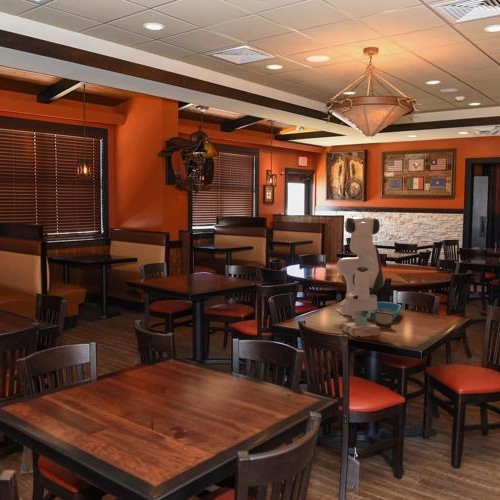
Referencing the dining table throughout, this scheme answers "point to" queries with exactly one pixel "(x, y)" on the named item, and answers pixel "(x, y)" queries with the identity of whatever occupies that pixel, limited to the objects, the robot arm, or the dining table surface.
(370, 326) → the folded beige towel
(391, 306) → the casserole dish
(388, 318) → the food container
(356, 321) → the teal block
